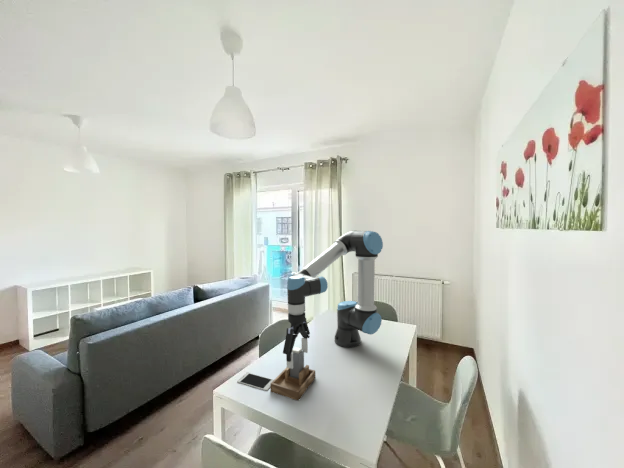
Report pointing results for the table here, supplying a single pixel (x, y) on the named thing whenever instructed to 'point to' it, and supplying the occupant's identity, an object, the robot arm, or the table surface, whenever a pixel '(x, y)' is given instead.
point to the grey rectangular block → (297, 362)
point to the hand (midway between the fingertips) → (297, 359)
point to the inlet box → (293, 383)
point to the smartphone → (256, 381)
